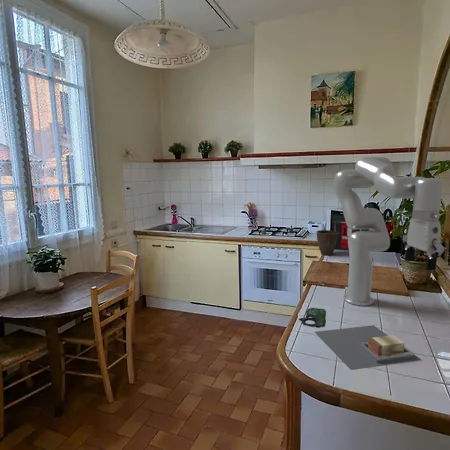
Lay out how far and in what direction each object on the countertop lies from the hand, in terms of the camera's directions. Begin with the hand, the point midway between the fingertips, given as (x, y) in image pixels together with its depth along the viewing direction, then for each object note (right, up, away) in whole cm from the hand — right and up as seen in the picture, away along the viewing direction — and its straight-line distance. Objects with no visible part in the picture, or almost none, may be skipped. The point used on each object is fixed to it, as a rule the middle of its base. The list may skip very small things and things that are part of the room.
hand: (419, 265), depth 110 cm
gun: (-32, -24, +18) cm, 44 cm away
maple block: (-15, -27, -7) cm, 32 cm away
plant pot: (+5, -7, +115) cm, 116 cm away
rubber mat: (-20, -27, -3) cm, 34 cm away
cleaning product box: (+24, -4, +131) cm, 133 cm away
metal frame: (-15, -27, -7) cm, 32 cm away
